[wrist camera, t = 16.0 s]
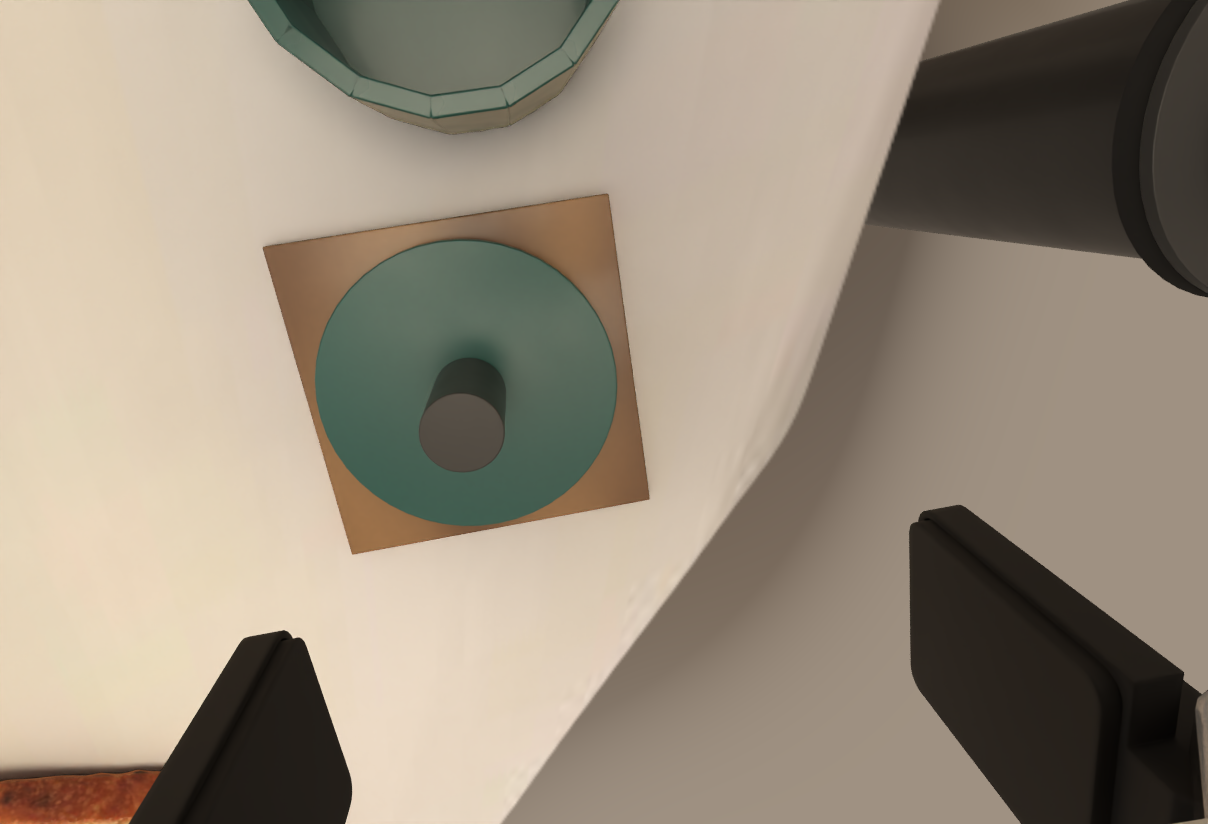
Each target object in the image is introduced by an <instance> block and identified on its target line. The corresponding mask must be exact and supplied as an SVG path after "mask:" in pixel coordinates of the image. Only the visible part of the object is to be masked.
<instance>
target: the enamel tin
mask: <svg viewBox="0 0 1208 824" xmlns="http://www.w3.org/2000/svg"><path fill="white" fill-rule="evenodd" d="M619 1H620V0H248V2H249V3H250V4H251V6H252V7H253V9H254V10H255V12H256V13H257V15H258V16H259V18H260V19H261V21H262V22H263V24H264V25H265V27H266V28H267V30H268V31H269V32H270V34H271V35H272V37H273V38H274V40H275V41H276V42H277V43H278V44H279V45H280V46H282V47H283V48H284V49H286V50H287V51H288V52H290V53H291V54H292V55H294V56H295V57H296V58H298V59H299V60H300V61H302V62H303V63H305V64H306V65H307V66H309V67H310V68H311V69H313V70H314V71H315V72H317V73H318V74H319V75H321V76H322V77H323V78H325V79H326V80H327V81H329V82H330V83H332V84H333V85H334V86H336V87H337V88H338V89H340V90H341V91H342V92H344V93H345V94H346V95H348V96H349V97H351V98H353V99H355V100H357V101H359V102H361V103H363V104H365V105H367V106H369V107H370V108H372V109H374V110H376V111H378V112H380V113H382V114H384V115H386V116H388V117H390V118H392V119H395V120H399V121H402V122H406V123H410V124H413V125H417V126H420V127H423V128H428V129H432V130H435V131H439V132H443V133H447V134H460V133H466V132H478V131H485V130H489V129H494V128H501V127H508V126H509V125H512V124H514V123H516V122H517V121H519V120H520V119H522V118H523V117H525V116H527V115H529V114H530V113H532V112H534V111H535V110H537V109H538V108H540V107H541V106H542V105H544V104H545V103H547V102H548V101H550V100H551V99H553V98H555V97H556V96H558V95H559V94H560V93H561V92H562V90H563V89H564V87H565V86H566V84H567V83H568V81H569V80H570V78H571V77H572V75H573V74H574V72H575V71H576V69H577V68H578V66H579V65H580V63H581V62H582V60H583V59H584V57H585V56H586V55H587V53H588V52H589V50H590V49H591V47H592V46H593V44H594V43H595V41H596V39H597V37H598V36H599V34H600V32H601V31H602V29H603V27H604V26H605V24H606V22H607V21H608V19H609V17H610V16H611V14H612V12H613V11H614V9H615V7H616V6H617V4H618V2H619Z"/></svg>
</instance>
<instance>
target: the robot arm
mask: <svg viewBox="0 0 1208 824" xmlns="http://www.w3.org/2000/svg"><path fill="white" fill-rule="evenodd" d="M909 546H910V547H909V553H910V635H911V636H910V641H911V642H910V644H911V670H912V675H913V677H914V680H915V683H916V685H917V687H918V689H919V690H920V692H921V693H922V694H923V696H924V697H925V698H926V700H927V701H928V702H929V703H930V705H931V706H932V707H933V709H934V710H935V711H936V713H937V714H938V715H939V717H940V718H941V719H942V721H943V722H944V723H945V725H946V726H947V727H948V728H949V730H950V731H951V732H952V734H953V735H954V736H955V738H956V739H957V740H958V741H959V743H960V744H961V745H962V747H963V748H964V749H965V751H966V752H967V753H968V755H969V756H970V757H971V758H972V760H973V761H974V762H975V764H976V765H977V766H978V768H979V769H980V770H981V772H982V773H983V774H984V775H985V777H986V778H987V779H988V781H989V782H990V783H991V785H992V786H993V787H994V789H995V790H996V791H997V793H998V794H999V795H1000V797H1001V798H1002V799H1003V800H1004V802H1005V803H1006V804H1007V806H1008V807H1009V808H1010V810H1011V811H1012V812H1013V814H1014V815H1015V816H1016V818H1017V819H1018V820H1019V821H1020V823H1021V824H1208V690H1207V691H1206V692H1205V693H1203V694H1201V693H1199V692H1198V691H1197V690H1196V689H1194V688H1193V687H1192V686H1190V685H1189V684H1188V683H1186V682H1185V681H1184V680H1183V677H1184V672H1183V671H1182V670H1180V669H1179V668H1178V667H1176V666H1175V665H1174V664H1172V663H1171V662H1170V661H1168V660H1167V659H1166V658H1164V657H1163V656H1162V655H1161V654H1159V653H1158V652H1157V651H1155V650H1154V649H1153V648H1151V647H1150V646H1149V645H1147V644H1146V643H1145V642H1143V641H1142V640H1141V639H1139V638H1138V637H1137V636H1135V635H1134V634H1133V633H1131V632H1130V631H1129V630H1127V629H1126V628H1125V627H1123V626H1122V625H1121V624H1119V623H1118V622H1117V621H1115V620H1114V619H1113V618H1111V617H1110V616H1109V615H1108V614H1106V613H1105V612H1104V611H1102V610H1101V609H1099V608H1098V607H1097V606H1096V605H1094V604H1093V603H1091V602H1090V601H1089V600H1088V599H1086V598H1085V597H1084V596H1082V595H1081V594H1080V593H1078V592H1077V591H1076V590H1074V589H1073V588H1072V587H1070V586H1069V585H1068V584H1066V583H1065V582H1064V581H1062V580H1061V579H1060V578H1058V577H1057V576H1056V575H1054V574H1053V573H1052V572H1051V571H1049V570H1048V569H1046V568H1045V567H1044V566H1043V565H1041V564H1040V563H1038V562H1037V561H1036V560H1035V559H1033V558H1032V557H1031V556H1029V555H1028V554H1027V553H1025V552H1024V551H1023V550H1021V549H1020V548H1019V547H1017V546H1016V545H1015V544H1013V543H1012V542H1011V541H1009V540H1008V539H1007V538H1005V537H1004V536H1003V535H1001V534H1000V533H998V531H996V530H995V529H994V528H992V527H991V526H989V525H988V524H987V523H985V522H984V521H983V520H982V519H980V518H979V517H978V516H976V515H975V514H974V513H972V512H971V511H969V510H968V509H967V508H966V507H964V506H962V505H955V506H950V507H945V508H939V509H933V510H928V511H923V512H922V513H921V514H920V517H919V520H918V522H915V523H913V524H911V526H910V531H909ZM351 800H352V782H351V777H350V773H349V770H348V767H347V764H346V761H345V759H344V756H343V753H342V750H341V747H340V744H339V741H338V738H337V735H336V732H335V729H334V726H333V723H332V720H331V717H330V714H329V712H328V709H327V706H326V703H325V700H324V697H323V694H322V691H321V688H320V685H319V682H318V679H317V676H316V673H315V670H314V667H313V664H312V662H311V659H310V656H309V653H308V650H307V647H306V645H305V642H304V641H303V640H302V639H301V638H294V639H293V638H292V636H291V635H290V634H289V632H287V631H285V630H283V631H278V632H272V633H267V634H261V635H256V636H251V637H247V638H244V639H243V640H242V641H241V642H240V644H239V645H238V647H237V648H236V650H235V652H234V653H233V655H232V657H231V658H230V660H229V661H228V663H227V665H226V666H225V668H224V670H223V671H222V673H221V674H220V676H219V678H218V679H217V681H216V683H215V684H214V686H213V687H212V689H211V691H210V692H209V694H208V696H207V697H206V699H205V700H204V702H203V704H202V705H201V707H200V709H199V710H198V712H197V713H196V715H195V717H194V718H193V720H192V721H191V723H190V725H189V726H188V728H187V730H186V731H185V733H184V734H183V736H182V738H181V739H180V741H179V743H178V744H177V746H176V747H175V749H174V751H173V752H172V754H171V756H170V757H169V759H168V760H167V762H166V764H165V765H164V767H163V769H162V770H161V772H160V773H159V775H158V777H157V778H156V780H155V782H154V783H153V785H152V786H151V788H150V790H149V791H148V793H147V795H146V796H145V798H144V799H143V801H142V803H141V804H140V806H139V807H138V809H137V811H136V812H135V814H134V816H133V817H132V819H131V820H130V822H129V824H345V822H346V819H347V815H348V812H349V808H350V805H351Z"/></svg>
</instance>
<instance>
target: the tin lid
mask: <svg viewBox="0 0 1208 824" xmlns="http://www.w3.org/2000/svg"><path fill="white" fill-rule="evenodd" d="M315 390H316V401H317V405H318V410H319V415H320V419H321V421H322V424H323V427H324V430H325V432H326V435H327V437H328V439H329V441H330V443H331V445H332V447H333V449H334V450H335V452H336V454H337V455H338V457H339V458H340V459H341V461H342V462H343V464H344V465H345V467H346V468H347V469H348V470H349V471H350V472H351V473H352V475H353V476H354V477H355V478H356V479H357V480H358V481H359V482H360V483H361V484H362V485H363V486H365V487H366V488H367V489H368V490H369V491H370V492H372V493H373V494H374V495H375V496H377V497H378V498H380V499H382V500H383V501H385V502H386V503H388V504H389V505H391V506H393V507H395V508H397V509H399V510H401V511H403V512H405V513H407V514H410V515H413V516H415V517H418V518H421V519H424V520H428V521H432V522H437V523H441V524H448V525H457V526H482V525H490V524H498V523H502V522H506V521H510V520H514V519H518V518H520V517H523V516H526V515H528V514H531V513H533V512H535V511H537V510H539V509H541V508H543V507H545V506H547V505H549V504H550V503H552V502H553V501H555V500H556V499H557V498H559V497H560V496H562V495H563V494H565V493H566V492H567V491H568V490H569V489H570V488H571V487H572V486H574V485H575V484H576V483H577V482H578V481H579V480H580V479H581V477H582V476H583V475H584V474H585V473H586V472H587V471H588V469H589V468H590V467H591V465H592V464H593V462H594V461H595V459H596V458H597V456H598V455H599V453H600V451H601V449H602V447H603V445H604V443H605V441H606V439H607V436H608V433H609V430H610V427H611V424H612V422H613V417H614V412H615V407H616V398H617V374H616V365H615V360H614V355H613V351H612V347H611V344H610V341H609V339H608V336H607V333H606V330H605V328H604V326H603V325H602V323H601V321H600V319H599V317H598V315H597V313H596V312H595V310H594V309H593V307H592V306H591V304H590V303H589V302H588V300H587V299H586V297H585V296H584V295H583V294H582V293H581V292H580V290H579V289H578V288H577V287H576V286H575V285H574V284H573V283H572V282H571V281H570V280H569V279H568V278H567V277H565V276H564V275H563V274H562V273H561V272H559V271H558V270H557V269H556V268H554V267H553V266H551V265H549V264H548V263H546V262H545V261H543V260H541V259H540V258H538V257H536V256H534V255H532V254H529V253H527V252H525V251H523V250H521V249H518V248H515V247H512V246H508V245H505V244H502V243H497V242H492V241H486V240H480V239H450V240H439V241H434V242H430V243H426V244H421V245H418V246H415V247H412V248H410V249H407V250H404V251H402V252H399V253H397V254H395V255H394V256H392V257H390V258H388V259H386V260H384V261H383V262H381V263H379V264H378V265H377V266H375V267H374V268H373V269H371V270H370V271H368V272H367V273H366V274H364V275H363V276H362V277H361V278H360V279H359V280H358V281H357V282H356V283H355V284H354V285H353V286H352V287H351V288H350V289H349V290H348V291H347V293H346V294H345V295H344V297H343V298H342V299H341V301H340V302H339V303H338V305H337V306H336V308H335V310H334V311H333V313H332V315H331V317H330V319H329V320H328V322H327V325H326V327H325V330H324V333H323V335H322V338H321V341H320V345H319V349H318V354H317V358H316V369H315Z"/></svg>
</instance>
